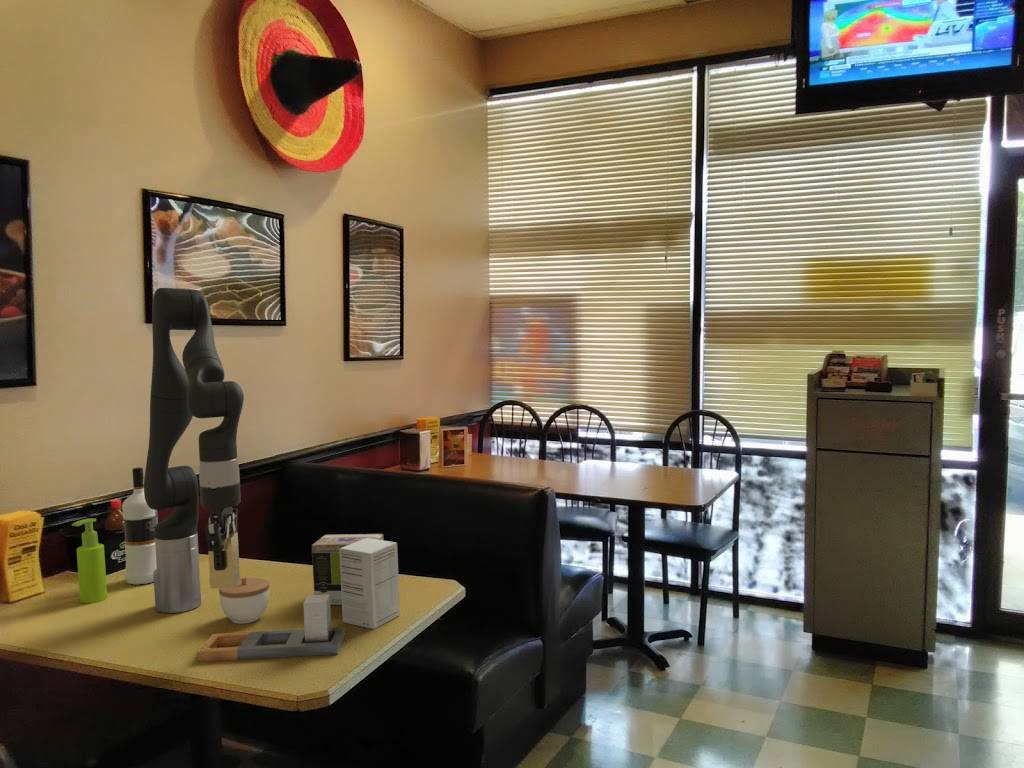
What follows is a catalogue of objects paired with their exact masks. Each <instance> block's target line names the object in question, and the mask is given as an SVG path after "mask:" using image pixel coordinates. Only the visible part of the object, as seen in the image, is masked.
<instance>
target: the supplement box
mask: <svg viewBox="0 0 1024 768" xmlns="http://www.w3.org/2000/svg"><path fill="white" fill-rule="evenodd" d="M339 555H340V575H341V595H342V605H341V610H342V612H341V613H342V614H341V615H342V622H343V623H345V624H349V625H354V626H358V627H362V628H367V629H372V630H375V629H376V628H378V627H380V626H382V625H385V624H387V622H390V621H392V620H393V619H395V618H397V617H399V616H400V615H401V605H400V604H401V602H400V584H399V583H400V581H399V580H400V579H399V558H398V556H399V554H398V543H397V542H394V541H389V540H384V541H383V540H377V539H371V538H365V539H363V540H360V541H358V542H355V543H352V544H350V545H347V546H345V547H342V548H340V549H339Z"/></svg>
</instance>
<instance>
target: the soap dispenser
mask: <svg viewBox="0 0 1024 768" xmlns="http://www.w3.org/2000/svg"><path fill="white" fill-rule="evenodd" d="M94 522H97V518H92V517H90V518H84V519H81V520H77V521H75V522H73V523H72V524H71V526H72V527H80V526H82V525H84V531H83V532H82V533H81V546H79V547H77V548H76V559H77V560H76V561H77V573H78V574H77V577H78V590H79V591H78V592H79V602H80V603H81V602H82V603H81V604H93V603H94V602H95V603H97V602H98V601H99V602H101V600H102V601H105V600H106V599H107V598H108V588H107V585H108V584H107V573H106V570H107V569H106V557H105V545H104V543H103V544H102V543H99V539H98V531H96V530H94V524H93V523H94ZM95 603H94V604H95Z"/></svg>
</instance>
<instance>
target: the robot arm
mask: <svg viewBox="0 0 1024 768" xmlns="http://www.w3.org/2000/svg"><path fill="white" fill-rule="evenodd" d="M151 303H152V304H151V306H152V307H151V322H152V323H151V324H152V325H151V327H152V328H151V329H152V366H151V367H152V368H151V369H152V370H151V384H150V394H149V395H150V396H149V397H150V401H149V437H148V449H147V454H146V455H147V456H146V462H145V463H146V464H145V471H144V496H145V500H146V503H147V505H148V506H149V507H150V508H151V509H153V510H157V511H159V510H165V509H171V508H174V509H173V511H171V513H170V514H169V515H168V516H166V518H164V519H163V520H161V521H158V524H157V525H156V526H155V528H154V534H155V550H156V567H157V569H156V570H155V571H154V572H153V576H154V582H153V589H154V590H153V591H154V606H155V612H161V613H166V614H174V613H175V614H176V613H183V612H188V611H191V610H193V609H197V608H198V607H200V606H201V604H202V593H201V577H200V575H201V574H200V571H201V570H200V559H199V558H200V554H199V539H198V538H199V537H198V524H199V500H200V506H201V507H202V508H203V509H208V510H210V516H208V523H205V524H204V532H205V538H206V543H207V545H206V546H207V550H208V551H212V552H213V556H214V569H215V570H216V571H217V570H225V569H226V567H227V566H226V551H225V550H226V539H227V538H229V533H234V532H238V513H239V511H238V508H233V507H236V506H238V505H240V504H241V502H242V499H241V498H242V497H241V496H242V495H241V478H240V476H241V475H240V467H239V461H238V447H237V446H238V445H237V437H238V436H237V435H238V427H239V422H240V417H241V414H242V412H243V406H244V401H245V400H244V399H245V398H244V397H245V396H244V395H245V394H244V391H243V388H242V387H241V385H240V384H238V383H237V381H233V380H232V381H231V380H226V381H225V375H226V374H225V369H224V367H223V364H222V362H221V359H220V356H219V353H218V351H217V349H216V348H217V347H216V344H215V343H216V342H215V338H214V337H215V336H214V331H213V330H214V329H213V323H212V319H211V312H210V306H209V302H208V299H207V297H206V296H205V293H203V292H202V291H201V290H198V289H192V288H173V287H158V288H156V290H155V292H154V294H153V297H152V302H151ZM171 331H194V333H193V335H192V336H191V337H190V339H188V341H187V342H186V344H185V346H184V348H183V351H182V358H181V360H182V362H181V361H180V360H179V358H178V356H177V354H176V352H175V349H174V348H173V345H172V341H171V334H170V332H171ZM193 417H195V418H197V419H210V418H212V419H213V418H222V417H223V419H222V421H221V423H220V424H219V425H218V426H215V427H213V428H210V429H206V430H204V431H202V432H201V433H200V434H199V436H198V456H199V468H198V476H197V473H196V471H195V470H194V469H193V468H192V467H191V466H190V465H179V466H172V467H169V465H170V464H169V463H170V459H171V456H172V452H173V450H174V449H175V446H176V444H177V443H178V442H179V440H180V439H181V437H182V435H183V434H184V433H185V431H186V430H187V428H188V426H189V425H190V424H191V422H192V420H193ZM197 477H198V478H197ZM198 480H199V481H198ZM199 495H200V496H199ZM199 498H200V499H199ZM221 534H224V535H221ZM216 541H217V543H218V545H216ZM208 551H207V552H208Z"/></svg>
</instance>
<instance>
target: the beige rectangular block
mask: <svg viewBox="0 0 1024 768" xmlns="http://www.w3.org/2000/svg"><path fill="white" fill-rule="evenodd" d="M221 535H224V534H221ZM238 535H239V533H238V531H237V532H234V533H229V538H227V539H226V550H225V551H226V566H227V567H226V569H225V570H217V571H216V570H215V569H214V556H213V552H212V551H207V552H208V566H209V567H208V568H209V585H210V586H209V587H210V589H219V588H232V587H234V586H235V585H236V584H237V583H238V582H239V581H240V579H241V571H240V570H241V569H240V554H239V536H238ZM216 545H218V543H217V541H216ZM210 589H209V590H210Z"/></svg>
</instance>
